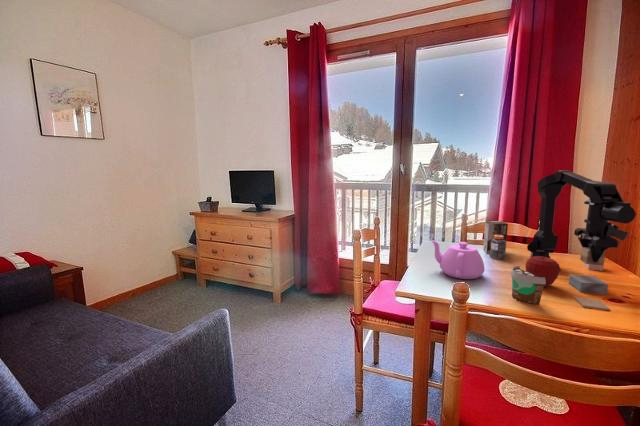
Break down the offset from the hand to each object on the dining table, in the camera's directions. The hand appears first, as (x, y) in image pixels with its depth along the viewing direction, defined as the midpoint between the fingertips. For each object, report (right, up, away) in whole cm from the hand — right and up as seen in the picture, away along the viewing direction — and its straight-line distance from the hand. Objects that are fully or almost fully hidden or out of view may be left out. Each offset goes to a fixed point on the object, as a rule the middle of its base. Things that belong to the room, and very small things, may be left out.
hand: (591, 259), depth 112 cm
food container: (-31, -13, -6) cm, 34 cm away
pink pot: (-42, -9, +18) cm, 47 cm away
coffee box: (-9, -4, +48) cm, 48 cm away
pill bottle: (-12, -5, +38) cm, 41 cm away
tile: (-10, -13, -11) cm, 19 cm away
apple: (-15, -11, +5) cm, 19 cm away
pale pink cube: (+21, -7, +23) cm, 32 cm away
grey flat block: (0, -11, +2) cm, 12 cm away
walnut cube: (0, -1, 0) cm, 1 cm away
